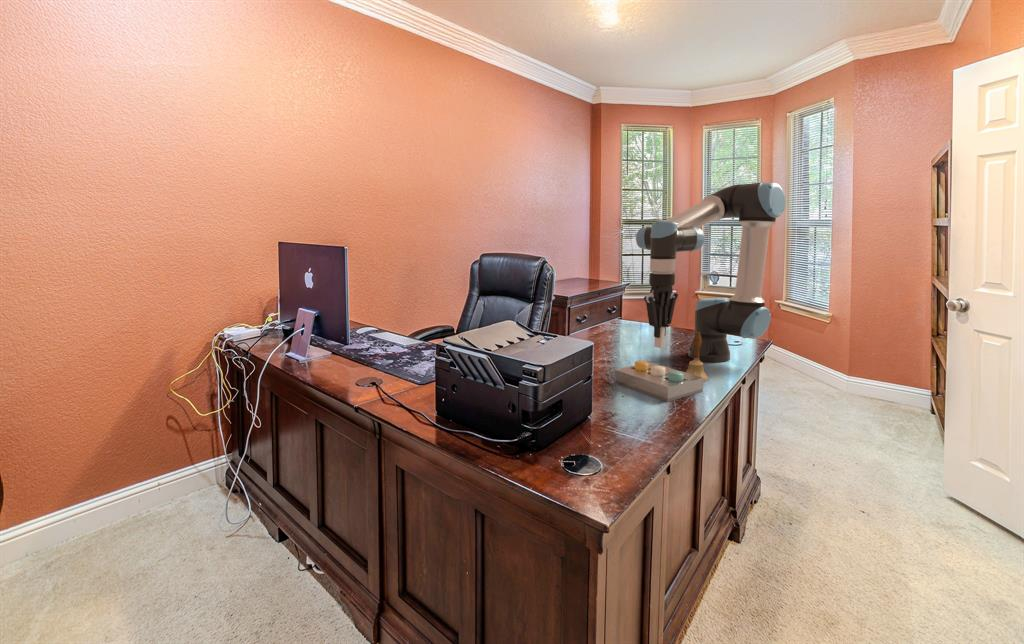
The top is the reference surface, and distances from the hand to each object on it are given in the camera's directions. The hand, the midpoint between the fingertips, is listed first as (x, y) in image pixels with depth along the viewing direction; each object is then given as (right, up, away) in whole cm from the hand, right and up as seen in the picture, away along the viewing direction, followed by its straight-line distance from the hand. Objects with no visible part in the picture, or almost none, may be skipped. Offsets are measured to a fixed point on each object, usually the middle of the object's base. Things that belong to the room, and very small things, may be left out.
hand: (659, 347), depth 160 cm
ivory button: (0, -11, +2) cm, 11 cm away
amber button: (-4, -10, +8) cm, 13 cm away
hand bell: (+16, -11, +12) cm, 22 cm away
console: (0, -13, +2) cm, 13 cm away
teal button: (+4, -12, -4) cm, 13 cm away
